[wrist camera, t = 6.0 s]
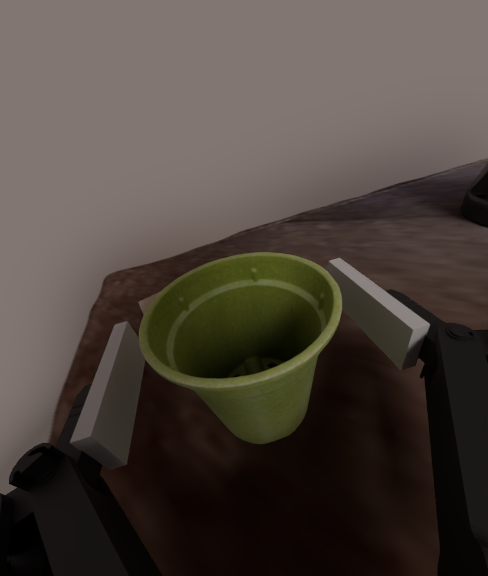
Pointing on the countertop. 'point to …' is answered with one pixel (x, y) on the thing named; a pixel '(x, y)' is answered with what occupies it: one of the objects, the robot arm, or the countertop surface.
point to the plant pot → (245, 338)
